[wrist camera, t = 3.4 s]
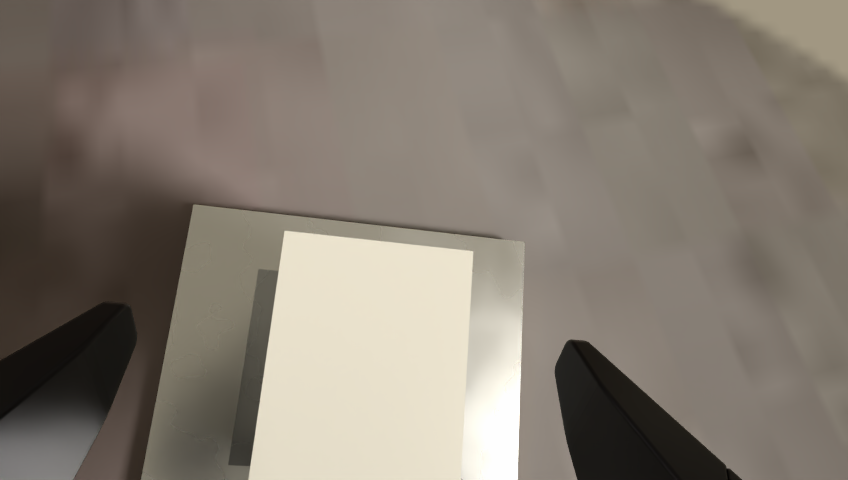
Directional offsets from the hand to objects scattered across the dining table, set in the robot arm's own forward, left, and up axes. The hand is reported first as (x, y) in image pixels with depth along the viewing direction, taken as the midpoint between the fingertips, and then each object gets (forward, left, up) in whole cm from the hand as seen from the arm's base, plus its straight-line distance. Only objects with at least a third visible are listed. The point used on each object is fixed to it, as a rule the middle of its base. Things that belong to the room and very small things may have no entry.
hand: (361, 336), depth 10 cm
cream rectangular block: (-1, +1, -6) cm, 7 cm away
